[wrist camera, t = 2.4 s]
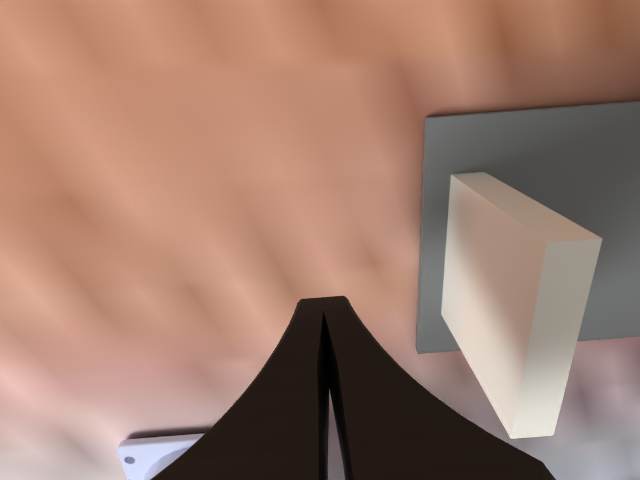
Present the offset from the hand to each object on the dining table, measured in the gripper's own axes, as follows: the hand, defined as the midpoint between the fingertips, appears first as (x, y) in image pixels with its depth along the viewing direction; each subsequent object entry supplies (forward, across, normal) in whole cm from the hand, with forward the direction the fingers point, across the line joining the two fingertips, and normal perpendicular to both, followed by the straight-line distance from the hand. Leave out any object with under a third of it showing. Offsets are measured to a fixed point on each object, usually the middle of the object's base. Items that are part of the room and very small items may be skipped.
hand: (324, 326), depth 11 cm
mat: (+5, -10, 0) cm, 12 cm away
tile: (+4, -6, 0) cm, 7 cm away
